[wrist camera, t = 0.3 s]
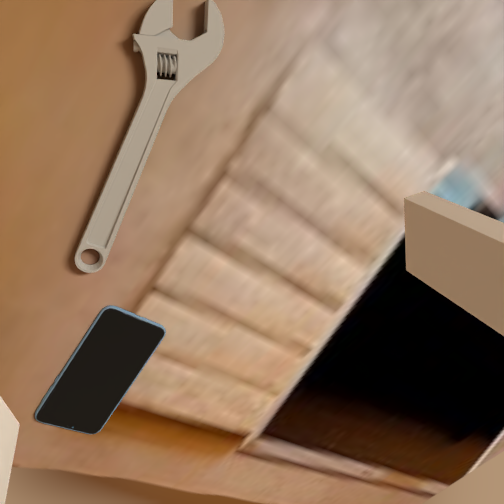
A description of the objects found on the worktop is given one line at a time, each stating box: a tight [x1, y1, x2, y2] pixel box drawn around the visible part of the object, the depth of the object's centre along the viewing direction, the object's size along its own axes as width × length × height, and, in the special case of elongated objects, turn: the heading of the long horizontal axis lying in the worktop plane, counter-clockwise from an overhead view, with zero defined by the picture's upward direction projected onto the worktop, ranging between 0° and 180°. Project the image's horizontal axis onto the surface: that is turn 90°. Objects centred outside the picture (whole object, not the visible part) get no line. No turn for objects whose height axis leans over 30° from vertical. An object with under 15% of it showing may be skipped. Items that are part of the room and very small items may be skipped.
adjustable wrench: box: [75, 0, 225, 273], centre depth 36 cm, size 25×6×2 cm, turn 148°
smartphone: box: [35, 306, 166, 434], centre depth 44 cm, size 7×1×15 cm
